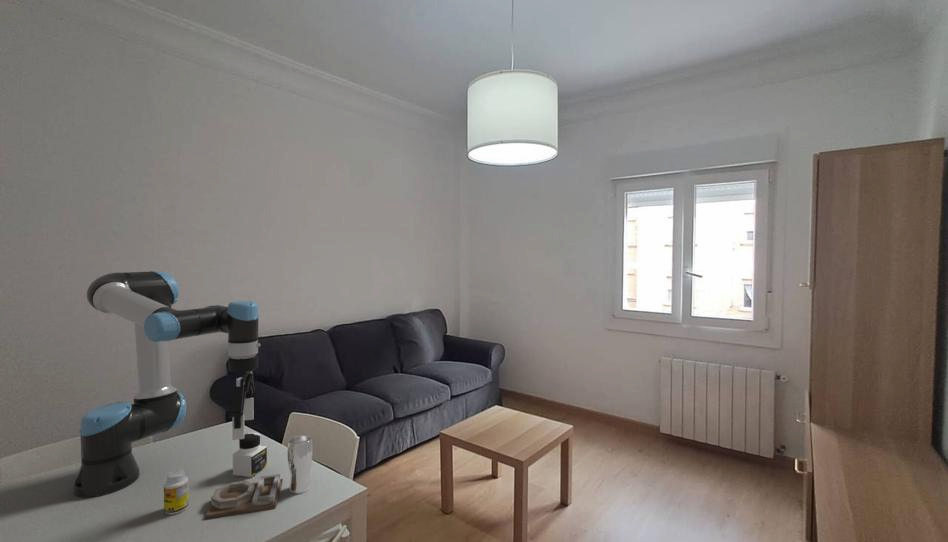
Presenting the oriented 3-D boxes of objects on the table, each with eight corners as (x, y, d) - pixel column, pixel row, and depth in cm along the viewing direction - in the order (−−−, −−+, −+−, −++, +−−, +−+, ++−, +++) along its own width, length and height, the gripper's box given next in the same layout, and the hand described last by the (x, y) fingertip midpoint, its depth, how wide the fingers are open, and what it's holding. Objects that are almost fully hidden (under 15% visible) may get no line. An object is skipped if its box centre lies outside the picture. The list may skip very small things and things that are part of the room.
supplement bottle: (160, 511, 114) (159, 474, 114) (183, 501, 119) (182, 466, 119) (169, 518, 111) (169, 480, 111) (192, 507, 116) (192, 471, 116)
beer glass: (283, 488, 126) (283, 439, 126) (306, 479, 131) (306, 432, 131) (293, 497, 121) (293, 447, 121) (316, 488, 127) (316, 439, 126)
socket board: (220, 490, 125) (220, 480, 125) (282, 481, 130) (282, 472, 130) (205, 518, 111) (205, 508, 111) (275, 508, 116) (275, 497, 116)
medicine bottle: (251, 478, 132) (251, 440, 131) (232, 475, 133) (231, 438, 133) (267, 466, 139) (267, 431, 138) (248, 464, 140) (248, 429, 140)
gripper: (249, 366, 108) (249, 446, 109) (265, 345, 132) (265, 411, 133) (216, 368, 106) (217, 450, 107) (238, 346, 130) (238, 413, 130)
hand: (243, 428), depth 120 cm, fingers open, 13 cm apart
